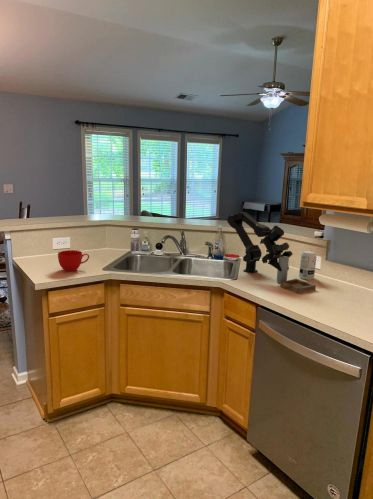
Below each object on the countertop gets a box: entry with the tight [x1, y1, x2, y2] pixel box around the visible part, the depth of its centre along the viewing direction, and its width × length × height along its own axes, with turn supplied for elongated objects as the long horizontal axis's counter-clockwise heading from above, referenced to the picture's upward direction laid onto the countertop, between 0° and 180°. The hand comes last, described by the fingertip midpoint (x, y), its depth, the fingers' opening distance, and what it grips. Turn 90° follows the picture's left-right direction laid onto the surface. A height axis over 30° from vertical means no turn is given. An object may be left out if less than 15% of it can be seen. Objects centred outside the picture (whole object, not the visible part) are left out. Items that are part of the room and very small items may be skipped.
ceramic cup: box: [57, 249, 90, 273], centre depth 205 cm, size 13×17×10 cm
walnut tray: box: [279, 278, 317, 295], centre depth 188 cm, size 12×12×2 cm
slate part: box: [276, 256, 290, 284], centre depth 195 cm, size 5×5×14 cm
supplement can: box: [298, 250, 317, 280], centre depth 205 cm, size 8×8×15 cm
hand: (284, 270), depth 194 cm, fingers closed on slate part, 5 cm apart
